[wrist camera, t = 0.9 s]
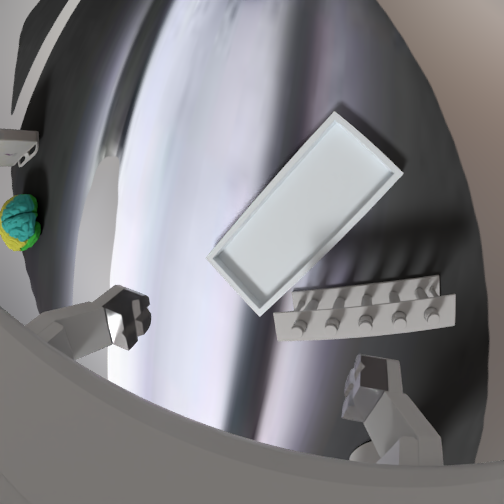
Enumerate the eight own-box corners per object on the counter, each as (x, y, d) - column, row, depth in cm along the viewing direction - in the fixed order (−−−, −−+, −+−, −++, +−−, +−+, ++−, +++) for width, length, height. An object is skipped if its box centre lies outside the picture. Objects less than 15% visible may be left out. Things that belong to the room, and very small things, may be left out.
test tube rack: (438, 274, 40) (460, 299, 28) (438, 300, 41) (459, 332, 29) (292, 291, 50) (267, 318, 38) (296, 315, 51) (272, 348, 39)
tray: (401, 175, 40) (403, 173, 38) (264, 311, 53) (259, 316, 50) (336, 115, 43) (334, 111, 40) (212, 255, 55) (205, 258, 53)
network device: (16, 171, 84) (-25, 173, 66) (16, 151, 83) (-24, 151, 65) (42, 148, 74) (-8, 146, 56) (43, 124, 73) (-6, 120, 55)
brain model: (44, 180, 74) (4, 182, 61) (52, 238, 76) (11, 245, 62) (22, 204, 85) (-10, 207, 72) (30, 252, 86) (-3, 259, 73)
